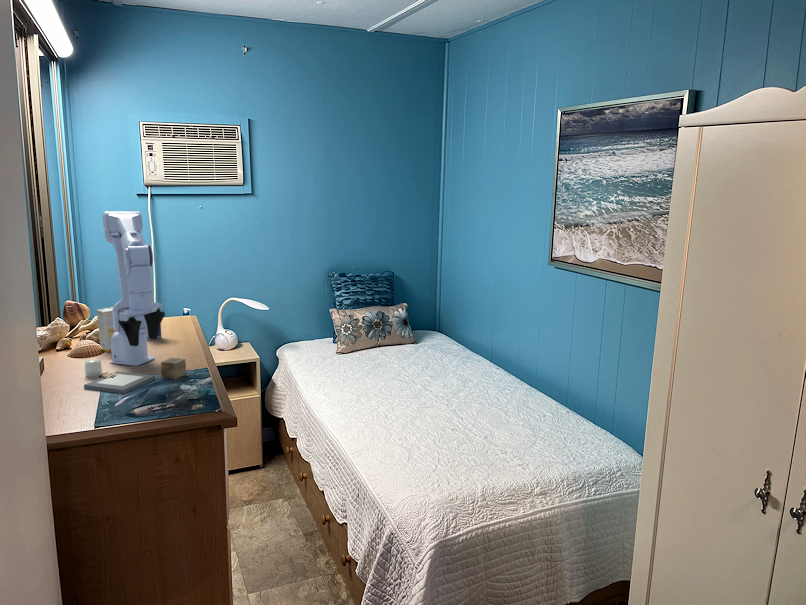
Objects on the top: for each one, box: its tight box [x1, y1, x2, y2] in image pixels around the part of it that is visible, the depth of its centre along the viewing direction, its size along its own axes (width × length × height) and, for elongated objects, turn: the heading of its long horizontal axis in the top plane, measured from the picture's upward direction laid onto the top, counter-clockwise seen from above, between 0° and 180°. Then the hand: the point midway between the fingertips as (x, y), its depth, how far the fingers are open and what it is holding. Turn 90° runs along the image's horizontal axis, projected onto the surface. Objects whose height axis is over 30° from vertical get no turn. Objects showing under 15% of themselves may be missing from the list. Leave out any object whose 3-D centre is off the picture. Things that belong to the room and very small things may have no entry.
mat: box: [83, 371, 156, 394], centre depth 157 cm, size 12×12×1 cm
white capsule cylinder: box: [84, 358, 103, 378], centre depth 164 cm, size 4×4×4 cm
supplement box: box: [96, 306, 124, 353], centre depth 189 cm, size 8×5×13 cm, turn 140°
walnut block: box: [160, 357, 187, 380], centre depth 164 cm, size 4×4×4 cm
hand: (143, 342), depth 159 cm, fingers open, 7 cm apart
